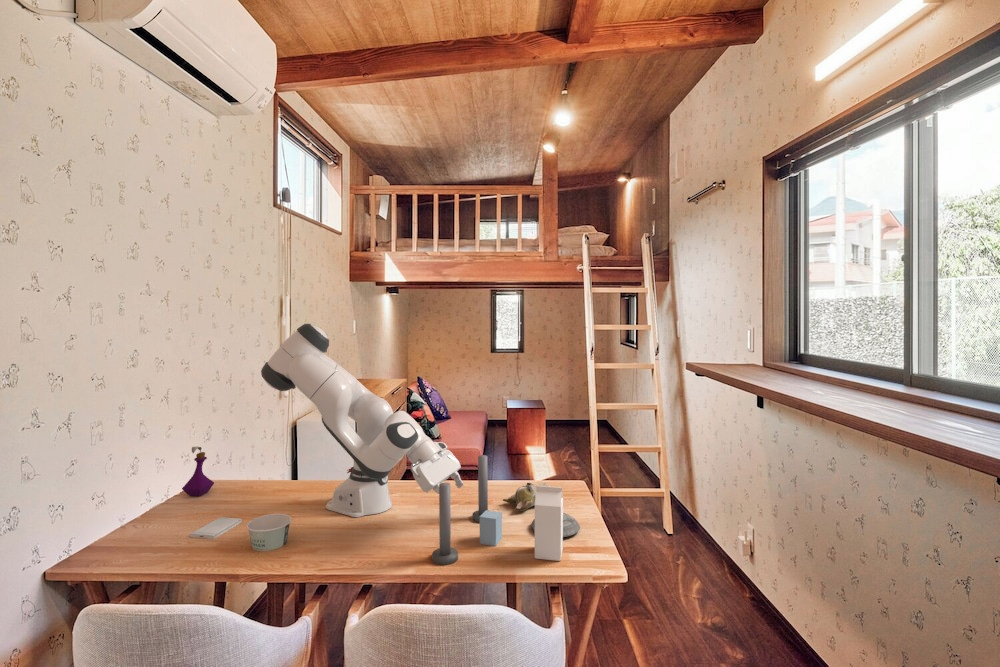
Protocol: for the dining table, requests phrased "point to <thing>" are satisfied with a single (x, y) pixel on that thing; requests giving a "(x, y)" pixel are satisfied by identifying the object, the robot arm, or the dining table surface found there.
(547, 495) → the milk carton
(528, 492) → the ceramic sculpture
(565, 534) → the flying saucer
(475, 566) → the dining table surface
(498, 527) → the slate block
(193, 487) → the perfume bottle
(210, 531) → the hard drive
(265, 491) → the dining table surface
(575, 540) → the dining table surface
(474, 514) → the far post
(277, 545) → the food container
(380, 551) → the dining table surface
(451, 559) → the near post
